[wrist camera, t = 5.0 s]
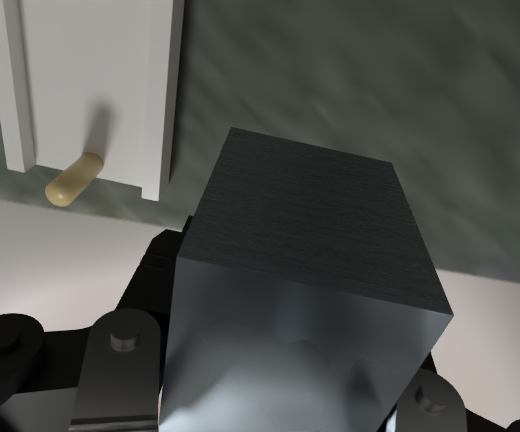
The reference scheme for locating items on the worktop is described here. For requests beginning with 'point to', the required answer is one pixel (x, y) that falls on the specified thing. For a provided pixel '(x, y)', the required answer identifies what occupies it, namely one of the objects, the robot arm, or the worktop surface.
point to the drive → (297, 294)
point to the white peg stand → (90, 90)
